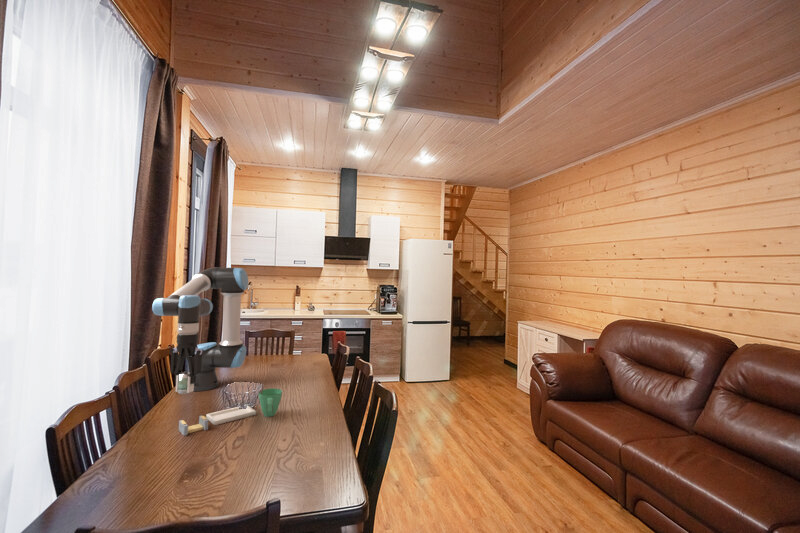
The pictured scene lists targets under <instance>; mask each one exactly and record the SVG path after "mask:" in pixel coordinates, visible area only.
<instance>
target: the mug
mask: <svg viewBox="0 0 800 533" xmlns="http://www.w3.org/2000/svg"><path fill="white" fill-rule="evenodd" d="M282 396H283V390H282V389H280V388H272V387H271V388H265V389H262V390H261V391H258V400H259V404H260V407H261V408H260V409H261V411H262V413H263V417H266V418H267V417H268V418H269V417H270V418H271V417H274V416H276V414H277V411H278V410H279V406H280V404H281V400H282Z"/></svg>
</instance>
